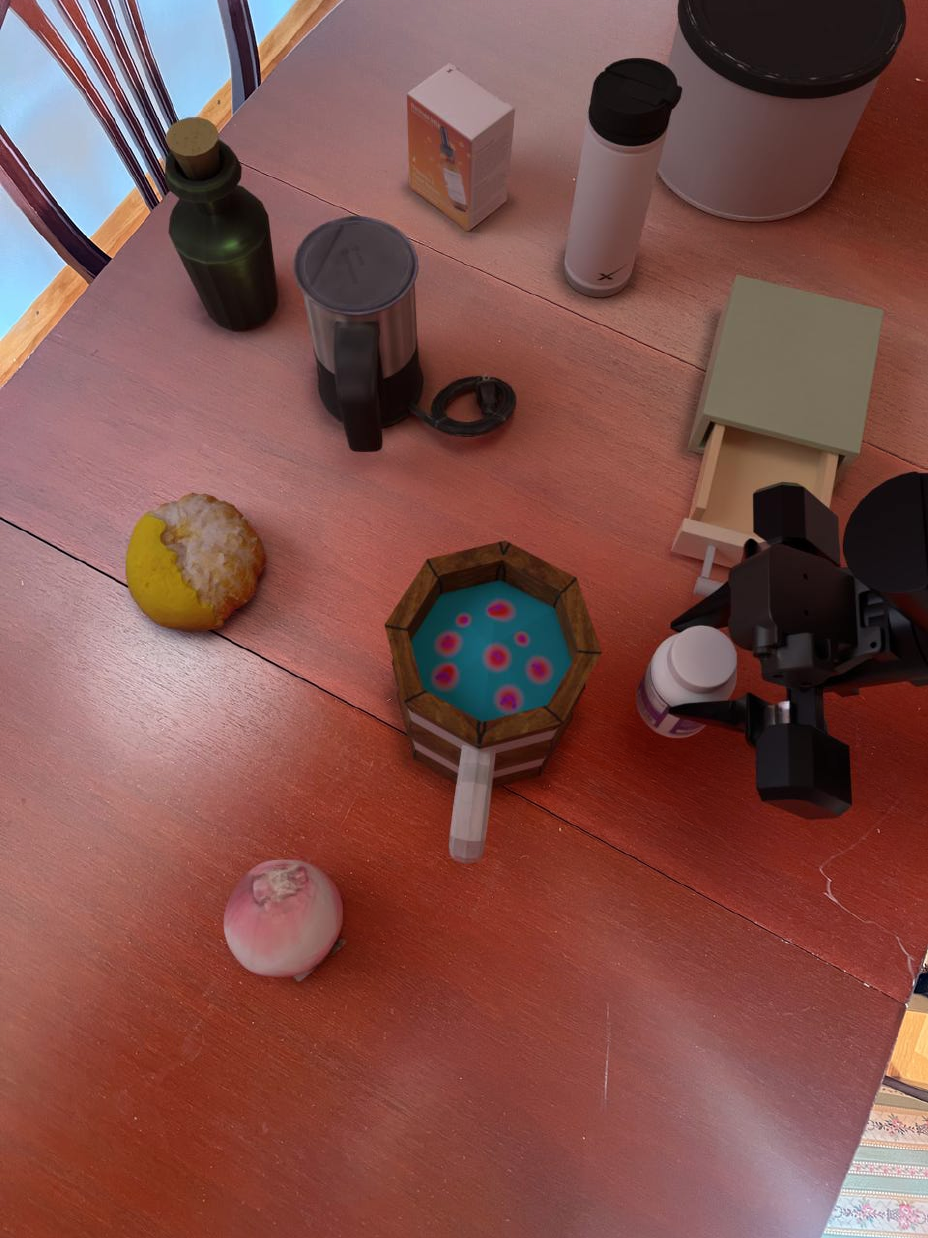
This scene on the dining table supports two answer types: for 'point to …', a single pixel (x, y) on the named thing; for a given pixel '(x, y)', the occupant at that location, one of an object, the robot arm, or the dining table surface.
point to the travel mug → (617, 172)
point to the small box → (459, 145)
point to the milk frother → (377, 334)
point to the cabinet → (791, 368)
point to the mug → (488, 673)
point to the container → (771, 98)
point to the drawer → (743, 493)
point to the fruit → (193, 563)
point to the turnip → (283, 919)
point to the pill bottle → (686, 678)
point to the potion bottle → (219, 227)
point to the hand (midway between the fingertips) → (672, 669)
